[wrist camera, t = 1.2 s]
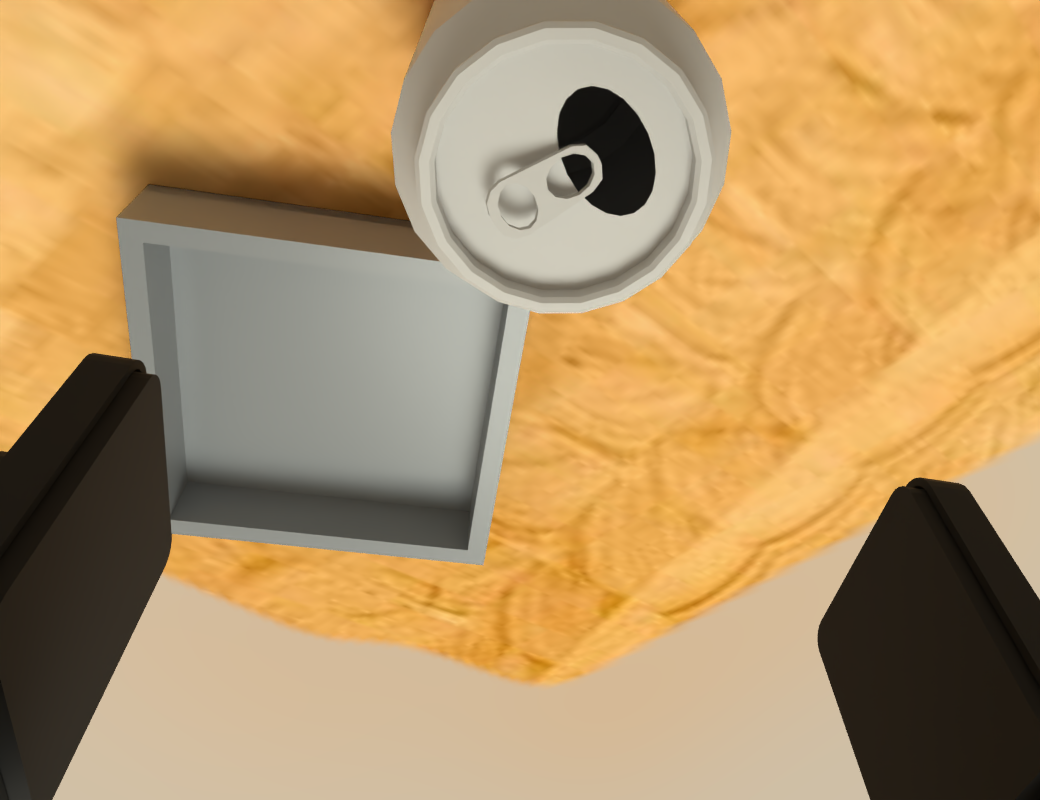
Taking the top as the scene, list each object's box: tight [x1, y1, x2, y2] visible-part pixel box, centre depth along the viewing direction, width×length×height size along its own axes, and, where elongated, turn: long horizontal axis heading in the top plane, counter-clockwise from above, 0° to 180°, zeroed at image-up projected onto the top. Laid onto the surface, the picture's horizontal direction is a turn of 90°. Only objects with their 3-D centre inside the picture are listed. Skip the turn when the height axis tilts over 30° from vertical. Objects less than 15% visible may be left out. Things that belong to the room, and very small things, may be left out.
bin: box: [116, 184, 530, 565], centre depth 33 cm, size 14×14×3 cm
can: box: [391, 0, 731, 313], centre depth 23 cm, size 8×8×12 cm
